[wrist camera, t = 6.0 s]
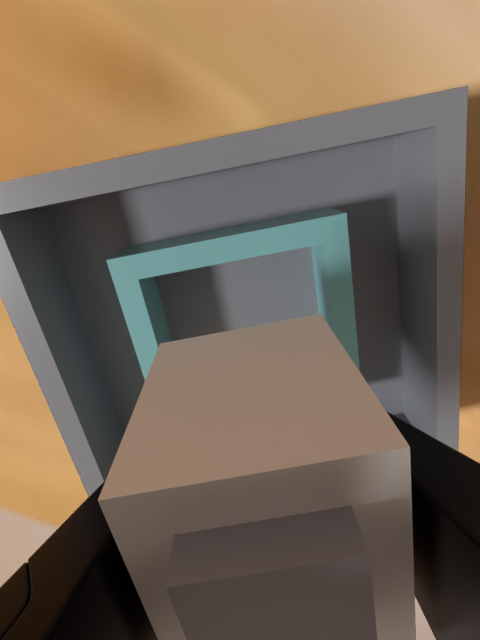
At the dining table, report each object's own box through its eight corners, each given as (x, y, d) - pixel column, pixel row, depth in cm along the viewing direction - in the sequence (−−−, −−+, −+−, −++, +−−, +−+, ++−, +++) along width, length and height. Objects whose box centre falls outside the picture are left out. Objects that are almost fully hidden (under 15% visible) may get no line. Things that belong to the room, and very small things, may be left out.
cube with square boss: (320, 313, 9) (439, 491, 4) (336, 444, 11) (438, 698, 5) (160, 343, 9) (77, 551, 4) (197, 468, 11) (169, 738, 6)
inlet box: (408, 108, 13) (468, 85, 10) (415, 417, 18) (457, 471, 14) (19, 187, 14) (-46, 191, 10) (126, 467, 18) (103, 531, 15)
